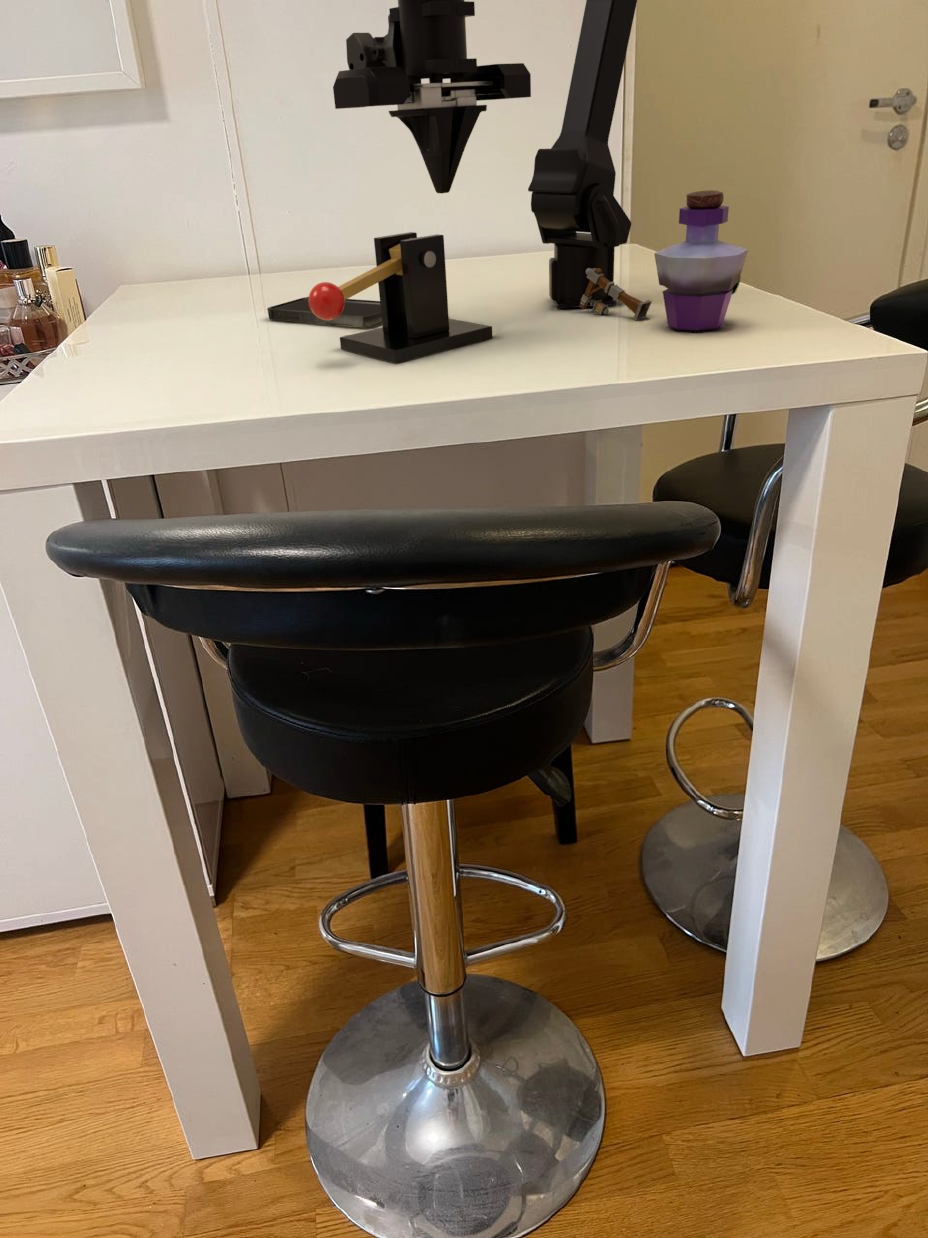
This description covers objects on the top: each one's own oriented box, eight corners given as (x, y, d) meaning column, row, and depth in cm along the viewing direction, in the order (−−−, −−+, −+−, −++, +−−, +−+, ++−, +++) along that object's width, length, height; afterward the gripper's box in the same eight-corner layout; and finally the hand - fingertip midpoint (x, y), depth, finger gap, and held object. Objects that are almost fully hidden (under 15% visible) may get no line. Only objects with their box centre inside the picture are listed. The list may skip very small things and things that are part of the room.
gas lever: (328, 328, 78) (316, 292, 76) (309, 323, 80) (296, 289, 78) (436, 269, 83) (427, 234, 81) (415, 266, 86) (406, 232, 84)
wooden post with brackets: (579, 300, 96) (594, 260, 93) (635, 338, 94) (652, 299, 90) (569, 303, 95) (584, 263, 92) (626, 342, 93) (643, 302, 89)
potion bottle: (759, 324, 86) (774, 187, 80) (701, 340, 82) (712, 197, 76) (690, 313, 92) (699, 185, 86) (632, 327, 88) (637, 194, 82)
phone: (308, 296, 106) (409, 302, 99) (309, 305, 107) (410, 313, 99) (262, 309, 101) (365, 317, 93) (263, 319, 101) (366, 328, 94)
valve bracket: (396, 363, 81) (385, 248, 76) (340, 349, 87) (327, 241, 82) (493, 338, 87) (488, 230, 82) (435, 326, 93) (428, 225, 88)
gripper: (452, 3, 86) (461, 182, 94) (287, 0, 76) (312, 200, 84) (533, -12, 79) (536, 183, 86) (362, -18, 68) (382, 204, 76)
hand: (442, 192), depth 83 cm, fingers closed
